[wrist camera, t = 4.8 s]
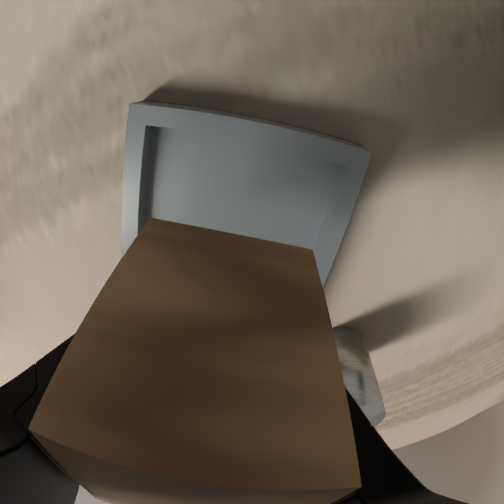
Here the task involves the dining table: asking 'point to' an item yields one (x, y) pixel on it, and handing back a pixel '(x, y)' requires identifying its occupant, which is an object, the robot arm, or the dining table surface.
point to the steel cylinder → (359, 372)
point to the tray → (239, 177)
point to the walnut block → (204, 378)
